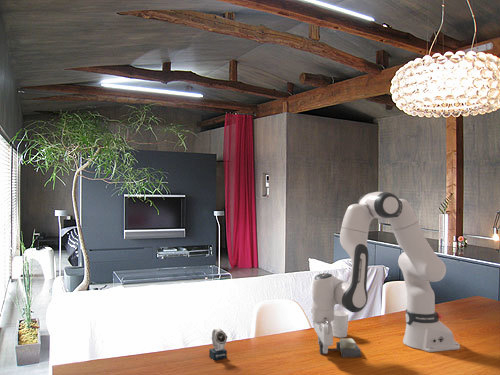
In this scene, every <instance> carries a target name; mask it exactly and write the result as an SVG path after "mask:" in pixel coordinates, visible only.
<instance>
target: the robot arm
mask: <svg viewBox="0 0 500 375" xmlns="http://www.w3.org/2000/svg"><path fill="white" fill-rule="evenodd" d="M374 219H387V220H388V221H389V224H390V226H391V230H392V232H393V235H394V237H395V239H396V242H397V244H398V247H400V248H401V250H403V252H401V254H399V257H398V260H397V264H398V267H399V269H400V270H401V273H402V276H403V281H404V284H405V288H406V289H405V291H406V309H405V324H406V325H405V330H404V336H403V339H402V343H403V344H404V345H406V346H408V347H410V348H413V349H417V350H422V351H426V352H429V353H433V352H434V353H435V352H444V351H453V350H460V349H461V346H460V343H459V342H458V341H456V340H455V337H454V333H453V331H452V330H451V329H450V328H449V327H448V326H447V325H445V324H444V323H443V322H441V321H440V320H444V315H443V314H441V313H439V312H436V310H435V309H436V307H435V306H436V304H435V300H436V298H435V292H434V290H433V289H432V287H431V284H430V283H431V282H432V283H433V282H435V283H436V282H439V281H441V280H443V279H444V278H445V276H446V273H447V267H446V264H445V262H443V260H442V259H441V258H440V257H439V256H438V255H437V254H436V252H435V251H434V249H433V247H431V245H430V243H429V242H428V240H427V239H426V237H425V235H424V233H423V229H422V228H421V225H420V222H419V220H418V217H417V215H416V214H415V211H414V209H413V207H412V206H411V204H410V203H409V201H408V200H407V199H406V198H405V199H404V198H399V197H398V196H396V195H395V194H394V193H392V192H389V191H374V192H367V193H364V194H363V195H361V196H360V197H359V199H358V200H357V202H356V203H353V204H350V205H349V206H348V207H347V208H346V211H345V214H344V216H343V219H342V223H341V227H340V233H339V243H340V245H341V247H342V249H343V250H344V251H345V252H346V253H347V255H348V256H349V258H350V259H351V260H350V261H351V272H350V282H348V281H345V280H343V279H339V278H337V277H335V276H334V275H333V274H331V273H328V272H326V273H319V274H317V275H315V276H314V278H313V281H312V290H311V294H312V295H311V297H312V305H311V319H312V322H313V329H314V331H315V333H316V335H317V345H319V347H320V343H323V353H327V354H328V353H329V351H328V349H329V347H331V346H333V344H334V336H333V329H332V325H331V321H333V320H334V311H335V305H339V306H341V307H343V308H345V309H346V311H349V313H359V312H361V311H362V310H364V308H366V305H367V303H368V301H369V300H368V298H369V296H368V295H369V294H368V289H367V287H368V286H367V282H368V270H369V260H370V259H369V249H368V238H369V237H368V236H369V231H370V225H371V223H372V221H373V220H374Z"/></svg>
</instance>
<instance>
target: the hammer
mask: <svg viewBox="0 0 500 375" xmlns="http://www.w3.org/2000/svg"><path fill="white" fill-rule="evenodd" d="M339 342H340V348H328V352H330V351H331V352H333V351H335V352H336V351H338V352H340V353H341V349H356V344H357V342H356V341H355V340H354V339H353V338H339ZM319 354H320V355H327V354H328V353H323V343H320V346H319Z"/></svg>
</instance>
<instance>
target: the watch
mask: <svg viewBox="0 0 500 375" xmlns="http://www.w3.org/2000/svg"><path fill="white" fill-rule="evenodd" d="M227 340H228V336H227V334H226V333H225V332H224V330H223V329H222V328H214V329H213V330H212V332H211V342H212V343H211V344H212V346H213V347H212V348H209V349H208V350H209V354H208V356H209V358H210V359H211V360H212V359H213V360H216V361H220V359H221V360H224V359H227V358H228V350H227V349H226V348H225V347H226V344H227ZM213 360H212V361H213Z"/></svg>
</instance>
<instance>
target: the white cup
mask: <svg viewBox="0 0 500 375" xmlns="http://www.w3.org/2000/svg"><path fill="white" fill-rule="evenodd" d="M331 325H332V329H333V338H339V339H344V338H346V337H348V329H349V328H348V327H349V312H347V311H344V310H334V320H333V321H331Z"/></svg>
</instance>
